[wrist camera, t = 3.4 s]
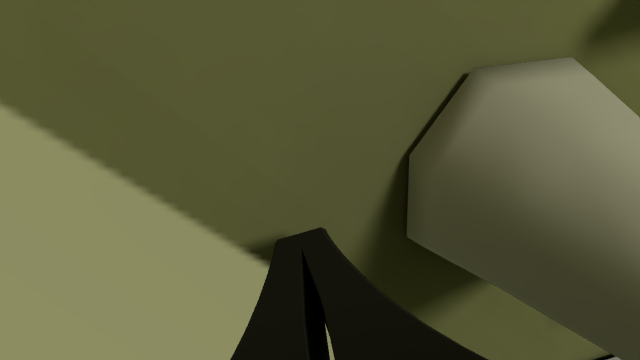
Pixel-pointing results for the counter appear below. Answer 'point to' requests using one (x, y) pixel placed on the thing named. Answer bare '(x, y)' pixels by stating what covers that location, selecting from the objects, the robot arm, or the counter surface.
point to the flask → (538, 195)
